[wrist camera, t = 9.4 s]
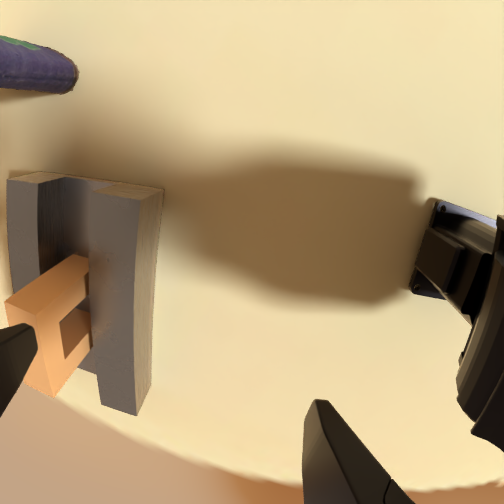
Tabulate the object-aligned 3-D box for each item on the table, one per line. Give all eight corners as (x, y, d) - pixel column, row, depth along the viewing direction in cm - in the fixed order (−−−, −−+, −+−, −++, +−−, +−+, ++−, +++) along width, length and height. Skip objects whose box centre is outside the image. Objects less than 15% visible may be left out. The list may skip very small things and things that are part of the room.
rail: (164, 189, 19) (140, 200, 15) (151, 384, 24) (136, 416, 20) (41, 171, 19) (6, 179, 15) (52, 350, 24) (32, 374, 20)
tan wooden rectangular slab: (101, 261, 20) (35, 315, 12) (102, 334, 22) (53, 398, 14) (73, 254, 20) (4, 301, 12) (76, 325, 22) (24, 383, 14)
